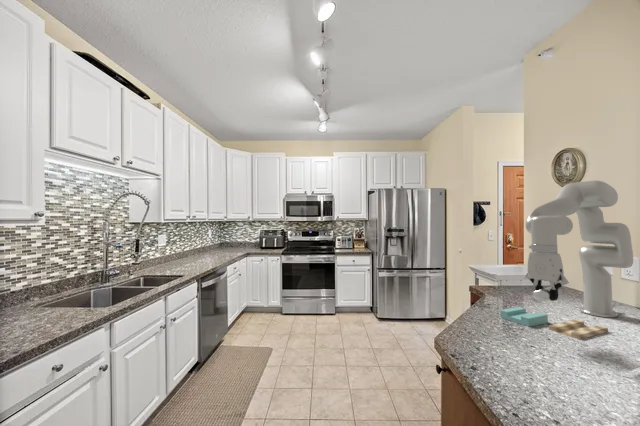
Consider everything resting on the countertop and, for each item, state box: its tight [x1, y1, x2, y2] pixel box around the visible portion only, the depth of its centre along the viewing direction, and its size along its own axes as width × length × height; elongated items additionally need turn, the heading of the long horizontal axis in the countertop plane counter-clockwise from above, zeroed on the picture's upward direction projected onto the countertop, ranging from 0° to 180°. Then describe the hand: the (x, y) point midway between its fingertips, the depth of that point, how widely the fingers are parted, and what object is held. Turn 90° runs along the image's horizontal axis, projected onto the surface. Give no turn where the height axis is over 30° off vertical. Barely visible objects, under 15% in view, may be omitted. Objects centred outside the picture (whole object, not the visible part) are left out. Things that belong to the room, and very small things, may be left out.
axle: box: [530, 286, 564, 304], centre depth 105 cm, size 12×4×4 cm, turn 111°
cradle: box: [499, 306, 549, 328], centre depth 122 cm, size 12×12×4 cm
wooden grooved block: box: [548, 318, 609, 340], centre depth 110 cm, size 18×10×2 cm, turn 110°
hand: (546, 297), depth 105 cm, fingers closed on axle, 4 cm apart
